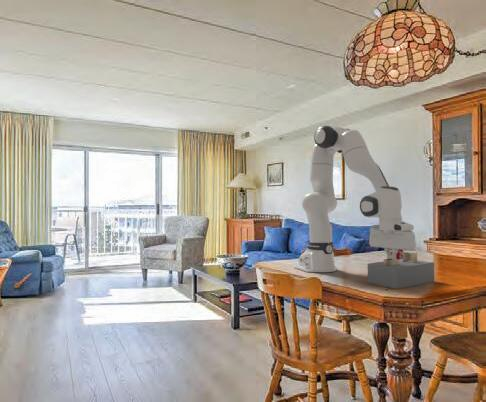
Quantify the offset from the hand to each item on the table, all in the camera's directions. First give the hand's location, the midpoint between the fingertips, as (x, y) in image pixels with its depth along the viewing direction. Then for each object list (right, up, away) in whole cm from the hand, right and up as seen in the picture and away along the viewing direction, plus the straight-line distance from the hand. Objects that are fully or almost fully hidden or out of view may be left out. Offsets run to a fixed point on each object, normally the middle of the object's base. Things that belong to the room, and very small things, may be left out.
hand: (391, 259), depth 157 cm
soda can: (+11, -10, +23) cm, 27 cm away
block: (+5, -10, +3) cm, 12 cm away
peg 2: (+10, -6, +6) cm, 13 cm away
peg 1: (0, -8, 0) cm, 8 cm away
